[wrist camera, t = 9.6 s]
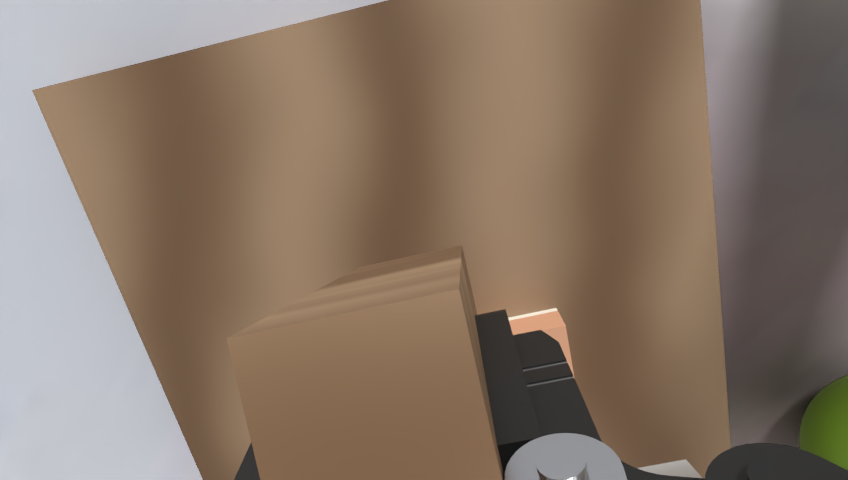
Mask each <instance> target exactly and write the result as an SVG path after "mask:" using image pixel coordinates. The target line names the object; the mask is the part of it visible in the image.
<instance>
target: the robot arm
mask: <svg viewBox="0 0 848 480" xmlns="http://www.w3.org/2000/svg"><path fill="white" fill-rule="evenodd" d="M475 321H476V327H477V332H478V338H479V344H480V350H481V355H482V361H483V367H484V373H485V378H486V384H487V390H488V396H489V401H490V407H491V413H492V419H493V424H494V430H495V436H496V442H497V447H498V451H499V455H500V460H501V464H502V468H503V472H504V477H505V478H504V480H848V470H846V469H844V468H842V467H840V466H838V465H836V464H834V463H832V462H830V461H828V460H826V459H824V458H822V457H820V456H817V455H815V454H813V453H810V452H808V451H805V450H802V449H798V448H795V447H790V446H786V445H780V444H772V443H754V444H745V445H741V446H736V447H733V448H731V449H728V450H726V451H724V452H722V453H721V454H719V455H718V456H717V457H716V458H714V459H713V460H712V462H711V463H710V465H709V466H708V468H707V471H706V474H705V478H693V477H680V476H668V475H660V474H655V473H650V472H646V471H643V470H640V469H637V468H635V467H633V466H631V465H628V464H626V463H624V462H623V461H621V460H620V458H619V457H618V456H617V454H616V453H615V452H614V451H613V450H612V449H611V448H610V447H609V446H607V445H606V444H604V443H603V442H602V440H601V438H600V436H599V434H598V431H597V429H596V427H595V425H594V422H593V420H592V418H591V415H590V413H589V411H588V408H587V406H586V404H585V401H584V399H583V397H582V394H581V392H580V390H579V388H578V385H577V383H576V381H575V379H574V377H573V374H572V371H571V369H570V367H569V364H568V363H567V360H566V357H565V355H564V353H563V351H562V348H561V346H560V344H559V342H558V341H557V340H555V339H554V338H552V337H551V336H549V335H548V334H546V333H545V332H543V331H542V330H536V331H531V332H526V333H521V334H516V335H513V334H512V330H511V326H510V323H509V319H508V316H507V312H506V309H503V310H498V311H493V312H489V313H484V314H479V315H475ZM234 480H260V476H259V472H258V468H257V464H256V460H255V456H254V451H253V447H252V443H251V444H250V446H249V448H248V450H247V452H246V454H245V457H244V459H243V461H242V463H241V465H240V468H239V470H238V472H237V474H236V476H235V478H234Z"/></svg>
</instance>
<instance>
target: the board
mask: <svg viewBox="0 0 848 480" xmlns="http://www.w3.org/2000/svg"><path fill="white" fill-rule="evenodd" d="M32 91H33V93H34V96H35V98H36V100H37V102H38V105H39V107H40V109H41V112H42V114H43V116H44V118H45V121H46V123H47V125H48V128H49V130H50V132H51V134H52V137H53V139H54V141H55V143H56V146H57V148H58V150H59V153H60V155H61V157H62V159H63V162H64V164H65V166H66V169H67V171H68V173H69V175H70V178H71V180H72V182H73V184H74V187H75V189H76V191H77V194H78V196H79V198H80V200H81V203H82V205H83V207H84V210H85V212H86V214H87V216H88V219H89V221H90V223H91V225H92V228H93V230H94V232H95V235H96V237H97V239H98V241H99V244H100V246H101V248H102V251H103V253H104V255H105V257H106V260H107V262H108V264H109V266H110V269H111V271H112V273H113V276H114V278H115V280H116V282H117V285H118V287H119V289H120V292H121V294H122V296H123V298H124V301H125V303H126V305H127V307H128V310H129V312H130V314H131V317H132V319H133V321H134V323H135V326H136V328H137V330H138V333H139V335H140V337H141V339H142V342H143V344H144V346H145V348H146V351H147V353H148V355H149V358H150V360H151V362H152V364H153V367H154V369H155V371H156V374H157V376H158V378H159V380H160V383H161V385H162V387H163V389H164V392H165V394H166V396H167V399H168V401H169V403H170V405H171V408H172V410H173V412H174V415H175V417H176V419H177V421H178V424H179V426H180V428H181V430H182V433H183V435H184V437H185V440H186V442H187V444H188V446H189V449H190V451H191V453H192V456H193V458H194V460H195V462H196V465H197V467H198V469H199V471H200V474H201V476H202V478H203V480H234V478H235V476H236V474H237V472H238V470H239V468H240V465H241V463H242V461H243V459H244V457H245V454H246V452H247V450H248V448H249V446H250V444H251V439H250V435H249V430H248V426H247V422H246V418H245V414H244V410H243V405H242V401H241V397H240V393H239V389H238V384H237V380H236V376H235V372H234V368H233V364H232V359H231V355H230V351H229V347H228V343H227V338H229V337H230V336H232V335H234V334H236V333H238V332H240V331H242V330H243V329H245V328H247V327H249V326H251V325H253V324H255V323H256V322H258V321H260V320H262V319H264V318H266V317H268V316H269V315H271V314H273V313H275V312H277V311H279V310H281V309H282V308H284V307H286V306H288V305H290V304H292V303H294V302H295V301H297V300H299V299H301V298H303V297H305V296H307V295H308V294H310V293H312V292H314V291H316V290H318V289H320V288H321V287H323V286H325V285H327V284H329V283H331V282H333V281H334V280H336V279H338V278H340V277H342V276H344V275H346V274H347V273H349V272H351V271H353V270H355V269H357V268H359V267H364V266H368V265H373V264H377V263H382V262H387V261H391V260H396V259H400V258H405V257H409V256H414V255H418V254H423V253H428V252H432V251H437V250H441V249H446V248H450V247H455V246H459V245H462V248H463V252H464V257H465V261H466V266H467V270H468V275H469V279H470V284H471V288H472V293H473V297H474V302H475V306H476V311H477V315H479V314H484V313H489V312H493V311H498V310H503V309H506V312H507V316H508V318H509V317H514V316H519V315H524V314H529V313H534V312H538V311H543V310H548V309H553V308H557V310H558V312H559V314H560V316H561V318H562V319H563V321H564V323H565V325H566V330H567V336H568V342H569V348H570V354H571V360H572V366H573V372H574V378H575V381H576V383H577V385H578V388H579V390H580V392H581V394H582V397H583V399H584V401H585V404H586V406H587V408H588V411H589V413H590V415H591V418H592V420H593V422H594V425H595V427H596V429H597V431H598V434H599V436H600V438H601V440H602V442H603V443H604V444H606V445H607V446H609V447H610V448H611V449H612V450H613V451H614V452H615V453H616V454H617V456H618V457H619V458H620V460H621V461H623V462H624V463H626V464H628V465H631V466H633V467H635V468H641V467H646V466H652V465H657V464H663V463H668V462H674V461H679V460H685V459H686V460H687V461H688V462H689V463H690V464H691V466H692V467H693V468H694V469H695V470H696V471H697V472H698V473H699V475H700V476H701V477H702V478H705V474H706V471H707V468H708V466H709V465H710V463H711V462H712V460H713V459H714V458H716V457H717V456H718V455H719V454H721V453H722V452H724V451H726V450H728V449H731V441H730V426H729V412H728V397H727V382H726V368H725V353H724V339H723V324H722V310H721V295H720V281H719V266H718V252H717V237H716V222H715V208H714V193H713V179H712V164H711V150H710V135H709V121H708V106H707V91H706V77H705V62H704V48H703V33H702V19H701V4H700V0H388V1H384V2H380V3H376V4H372V5H368V6H364V7H360V8H356V9H352V10H348V11H344V12H340V13H336V14H332V15H329V16H325V17H321V18H317V19H313V20H309V21H305V22H301V23H297V24H293V25H289V26H285V27H281V28H277V29H273V30H269V31H265V32H261V33H257V34H253V35H249V36H245V37H241V38H237V39H233V40H229V41H225V42H222V43H218V44H214V45H210V46H206V47H202V48H198V49H194V50H190V51H186V52H182V53H178V54H174V55H170V56H166V57H162V58H158V59H154V60H150V61H146V62H142V63H138V64H134V65H130V66H126V67H122V68H118V69H115V70H111V71H107V72H103V73H99V74H95V75H91V76H87V77H83V78H79V79H75V80H71V81H67V82H63V83H59V84H55V85H51V86H47V87H43V88H39V89H35V90H32Z"/></svg>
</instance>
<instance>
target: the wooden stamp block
mask: <svg viewBox="0 0 848 480" xmlns="http://www.w3.org/2000/svg"><path fill="white" fill-rule="evenodd" d="M475 315H477V311H476V306H475V302H474V297H473V293H472V288H471V284H470V279H469V275H468V270H467V266H466V261H465V257H464V252H463V248H462V245H459V246H455V247H450V248H446V249H441V250H437V251H432V252H428V253H423V254H418V255H414V256H409V257H405V258H400V259H396V260H391V261H387V262H382V263H377V264H373V265H368V266H364V267H359V268H357V269H355V270H353V271H351V272H349V273H347V274H346V275H344V276H342V277H340V278H338V279H336V280H334V281H333V282H331V283H329V284H327V285H325V286H323V287H321V288H320V289H318V290H316V291H314V292H312V293H310V294H308V295H307V296H305V297H303V298H301V299H299V300H297V301H295V302H294V303H292V304H290V305H288V306H286V307H284V308H282V309H281V310H279V311H277V312H275V313H273V314H271V315H269V316H268V317H266V318H264V319H262V320H260V321H258V322H256V323H255V324H253V325H251V326H249V327H247V328H245V329H243V330H242V331H240V332H238V333H236V334H234V335H232V336H230V337H229V338H227V343H228V347H229V351H230V355H231V359H232V364H233V368H234V372H235V376H236V380H237V384H238V389H239V393H240V397H241V401H242V405H243V410H244V414H245V418H246V422H247V426H248V430H249V435H250V439H251V443H252V447H253V451H254V456H255V460H256V464H257V468H258V472H259V476H260V480H504V478H505V477H504V472H503V468H502V464H501V460H500V455H499V451H498V447H497V442H496V436H495V430H494V424H493V419H492V413H491V407H490V401H489V396H488V390H487V384H486V378H485V373H484V367H483V361H482V355H481V350H480V344H479V338H478V332H477V327H476V321H475ZM637 469H640V470H643V471H646V472H650V473H655V474H660V475H668V476H680V477H693V478H702V477H701V476H700V475H699V473H698V472H697V471H696V470H695V469H694V468H693V467H692V466H691V464H690V463H689V462H688V461H687V460H686V459H685V460H679V461H674V462H668V463H663V464H657V465H652V466H646V467H641V468H637Z"/></svg>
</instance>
